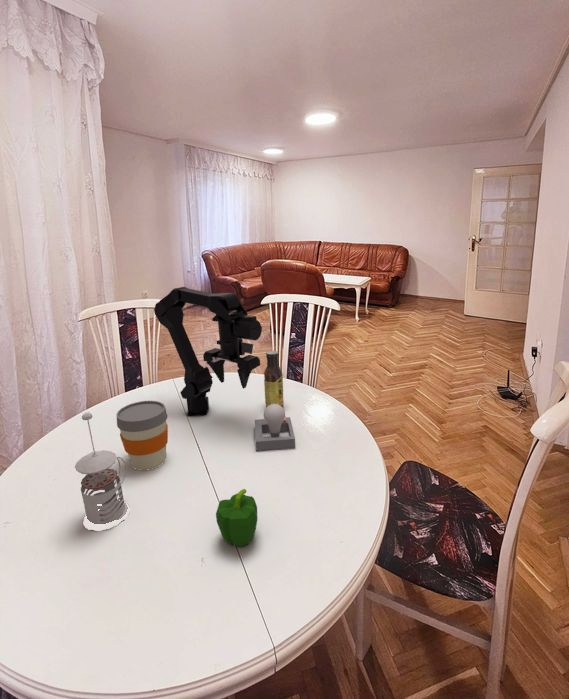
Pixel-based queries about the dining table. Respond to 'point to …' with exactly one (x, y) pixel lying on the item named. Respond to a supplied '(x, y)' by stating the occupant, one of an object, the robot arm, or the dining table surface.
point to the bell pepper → (237, 519)
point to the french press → (101, 485)
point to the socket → (276, 442)
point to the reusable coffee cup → (144, 433)
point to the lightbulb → (274, 418)
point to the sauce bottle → (273, 380)
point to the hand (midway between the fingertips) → (233, 385)
